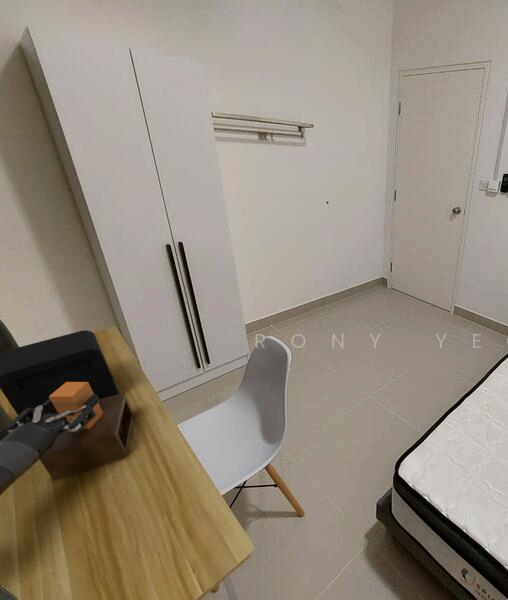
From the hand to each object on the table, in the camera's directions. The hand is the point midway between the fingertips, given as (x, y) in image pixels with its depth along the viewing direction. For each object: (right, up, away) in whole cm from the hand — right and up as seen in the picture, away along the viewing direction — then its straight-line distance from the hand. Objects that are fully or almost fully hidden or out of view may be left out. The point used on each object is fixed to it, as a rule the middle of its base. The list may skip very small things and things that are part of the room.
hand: (77, 397), depth 81 cm
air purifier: (-20, -7, +19) cm, 28 cm away
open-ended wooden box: (-1, -15, +7) cm, 16 cm away
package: (0, -7, +2) cm, 7 cm away
